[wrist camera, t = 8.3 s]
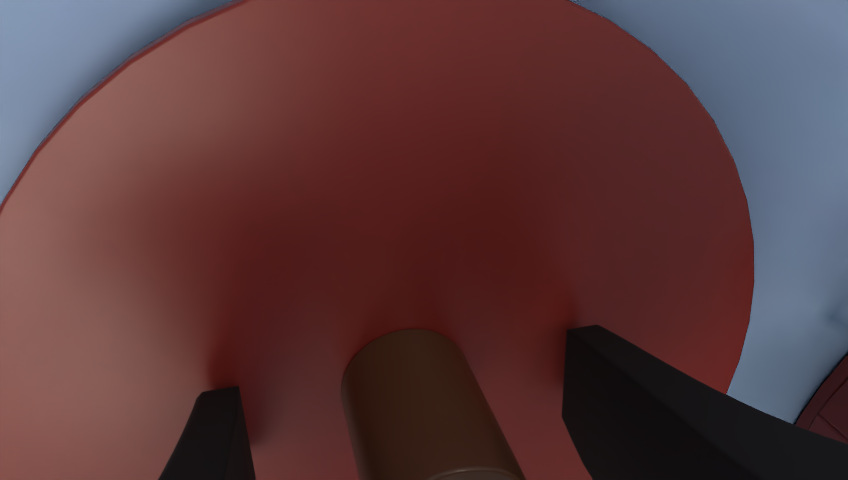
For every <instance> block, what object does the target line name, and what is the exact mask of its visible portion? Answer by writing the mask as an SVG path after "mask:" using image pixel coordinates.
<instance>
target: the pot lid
mask: <svg viewBox="0 0 848 480" xmlns="http://www.w3.org/2000/svg"><path fill="white" fill-rule="evenodd" d="M753 288H754V241H753V234H752V228H751V222H750V216H749V210H748V203H747V199H746V196H745V193H744V190H743V187H742V184H741V180H740V177H739V174H738V171H737V168H736V165H735V162H734V159H733V157H732V155H731V153H730V152H729V150H728V148H727V146H726V144H725V142H724V140H723V138H722V136H721V134H720V132H719V130H718V128H717V126H716V124H715V122H714V120H713V119H712V117H711V116H710V115H709V113H708V112H707V111H706V109H705V108H704V107H703V105H702V104H701V103H700V101H699V100H698V98H697V97H696V96H695V94H694V93H693V92H692V90H691V89H690V88H689V86H688V85H687V84H686V82H684V81H683V80H682V79H681V78H680V77H679V76H678V75H677V74H676V73H675V72H674V71H673V70H672V69H671V68H670V67H669V66H668V65H667V64H666V63H665V62H664V61H663V60H662V59H661V58H660V57H659V56H658V55H657V54H656V53H655V52H654V51H653V50H652V49H650V48H649V47H647V46H646V45H645V44H643V43H642V42H640V41H639V40H637V39H636V38H635V37H633V36H632V35H630V34H629V33H627V32H626V31H625V30H623V29H622V28H620V27H619V26H617V25H616V24H615V23H613V22H612V21H610V20H608V19H606V18H604V17H602V16H600V15H598V14H596V13H594V12H592V11H590V10H588V9H586V8H584V7H582V6H580V5H578V4H576V3H573V2H571V1H569V0H232V1H230V2H228V3H226V4H223V5H221V6H219V7H217V8H214V9H212V10H210V11H207V12H205V13H203V14H201V15H198V16H196V17H194V18H191V19H189V20H187V21H185V22H184V23H182V24H181V25H179V26H177V27H176V28H174V29H172V30H171V31H169V32H168V33H166V34H164V35H163V36H161V37H160V38H158V39H156V40H155V41H153V42H151V43H150V44H148V45H147V46H145V47H143V48H142V49H140V50H138V51H137V52H135V53H134V54H132V55H131V56H129V57H128V58H127V59H126V60H125V61H123V62H122V63H121V64H120V65H119V66H118V67H116V68H115V69H114V70H113V71H112V72H110V73H109V74H108V75H107V76H106V77H104V78H103V79H102V80H101V81H100V82H98V83H97V84H96V85H95V86H94V87H92V88H91V89H90V90H89V91H88V92H87V93H85V94H84V95H83V96H82V97H81V98H80V99H79V100H78V101H77V102H76V104H75V105H74V106H73V107H72V108H71V109H70V110H69V112H68V113H67V114H66V115H65V116H64V117H63V118H62V119H61V121H60V122H59V123H58V124H57V125H56V126H55V127H54V128H53V130H52V131H51V132H50V133H49V134H48V135H47V136H46V138H45V139H44V140H43V141H42V142H41V143H40V145H39V146H38V147H37V149H36V150H35V152H34V153H33V155H32V156H31V158H30V159H29V161H28V162H27V164H26V166H25V167H24V169H23V170H22V172H21V173H20V175H19V177H18V178H17V180H16V181H15V183H14V184H13V186H12V187H11V189H10V191H9V192H8V194H7V195H6V197H5V198H4V200H3V202H2V203H1V206H0V480H158V479H159V477H160V475H161V473H162V471H163V470H164V468H165V466H166V464H167V462H168V460H169V458H170V456H171V455H172V453H173V451H174V449H175V447H176V445H177V443H178V441H179V439H180V436H181V434H182V432H183V430H184V428H185V426H186V423H187V421H188V419H189V417H190V414H191V412H192V409H193V407H194V404H195V401H196V398H197V397H198V396H199V395H200V394H201V393H202V392H204V391H210V390H216V389H222V388H228V387H233V386H239V389H240V394H241V400H242V405H243V411H244V416H245V421H246V427H247V432H248V438H249V443H250V449H251V454H252V459H253V465H254V470H255V476H256V480H593V479H592V478H591V476H590V474H589V473H588V471H587V470H586V468H585V466H584V465H583V463H582V461H581V459H580V457H579V454H578V452H577V450H576V448H575V446H574V444H573V442H572V439H571V437H570V435H569V433H568V430H567V428H566V426H565V423H564V421H563V419H562V400H563V383H564V366H565V349H566V333H567V329H573V328H579V327H585V326H590V325H596V324H597V325H599V326H601V327H603V328H605V329H607V330H609V331H611V332H613V333H615V334H617V335H618V336H620V337H622V338H624V339H625V340H627V341H629V342H631V343H632V344H634V345H636V346H638V347H639V348H641V349H643V350H644V351H646V352H648V353H650V354H651V355H653V356H655V357H657V358H658V359H660V360H662V361H664V362H665V363H667V364H669V365H671V366H673V367H674V368H676V369H678V370H680V371H682V372H683V373H685V374H687V375H689V376H691V377H693V378H694V379H696V380H698V381H700V382H702V383H704V384H706V385H708V386H710V387H712V388H713V389H715V390H718V391H720V392H722V393H724V394H726V393H727V391H728V388H729V386H730V383H731V380H732V378H733V375H734V373H735V370H736V368H737V365H738V362H739V360H740V356H741V352H742V348H743V344H744V340H745V336H746V333H747V329H748V325H749V320H750V312H751V304H752V296H753Z"/></svg>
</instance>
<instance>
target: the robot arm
mask: <svg viewBox="0 0 848 480" xmlns="http://www.w3.org/2000/svg"><path fill="white" fill-rule="evenodd" d="M562 419H563V421H564V423H565V426H566V428H567V430H568V433H569V435H570V437H571V439H572V442H573V444H574V446H575V448H576V450H577V452H578V454H579V457H580V459H581V461H582V463H583V465H584V466H585V468H586V470H587V471H588V473H589V474H590V476H591V478H592V479H593V480H848V444H846V443H843V442H840V441H837V440H834V439H831V438H828V437H825V436H822V435H820V434H817V433H814V432H811V431H809V430H806V429H803V428H801V427H798V426H796V425H793V424H791V423H788V422H786V421H784V420H781V419H779V418H776V417H774V416H771V415H769V414H766V413H764V412H762V411H760V410H757V409H755V408H753V407H751V406H748V405H746V404H744V403H742V402H740V401H738V400H736V399H734V398H732V397H730V396H728V395H726V394H724V393H722V392H720V391H718V390H715V389H713V388H712V387H710V386H708V385H706V384H704V383H702V382H700V381H698V380H696V379H694V378H693V377H691V376H689V375H687V374H685V373H683V372H682V371H680V370H678V369H676V368H674V367H673V366H671V365H669V364H667V363H665V362H664V361H662V360H660V359H658V358H657V357H655V356H653V355H651V354H650V353H648V352H646V351H644V350H643V349H641V348H639V347H638V346H636V345H634V344H632V343H631V342H629V341H627V340H625V339H624V338H622V337H620V336H618V335H617V334H615V333H613V332H611V331H609V330H607V329H605V328H603V327H601V326H599V325H597V324H596V325H590V326H585V327H579V328H573V329H567V333H566V349H565V366H564V383H563V400H562ZM158 480H256V476H255V470H254V465H253V459H252V454H251V449H250V443H249V438H248V432H247V427H246V421H245V416H244V411H243V405H242V400H241V394H240V389H239V386H233V387H228V388H222V389H216V390H210V391H204V392H202V393H201V394H200V395H199V396H198V397H197V398H196V401H195V404H194V407H193V409H192V412H191V414H190V417H189V419H188V421H187V423H186V426H185V428H184V430H183V432H182V434H181V436H180V439H179V441H178V443H177V445H176V447H175V449H174V451H173V453H172V455H171V456H170V458H169V460H168V462H167V464H166V466H165V468H164V470H163V471H162V473H161V475H160V477H159V479H158Z"/></svg>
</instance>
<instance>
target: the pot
mask: <svg viewBox="0 0 848 480" xmlns="http://www.w3.org/2000/svg"><path fill="white" fill-rule="evenodd" d="M795 425H796V426H798V427H801V428H803V429H806V430H809V431H811V432H814V433H817V434H820V435H822V436H825V437H828V438H831V439H834V440H837V441H840V442H843V443H846V444H848V355H847V356H846V357H845V358H844V359H843V360H842V361H841V363H840V364H839V365H838V366H837V367H836V369H835V370H834V371H833V372H832V373H831V374H830V376H829V377H828V378H827V379H826V380H825V382H824V383H823V384H822V385H821V387H820V388H819V389H818V391H817V392H816V394H815V395H814V396H813V398H812V399H811V401H810V402H809V404H808V405H807V406H806V408H805V409H804V411H803V412H802V414H801V415H800V417H799V419H798V421H797V422H796V424H795Z"/></svg>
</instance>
